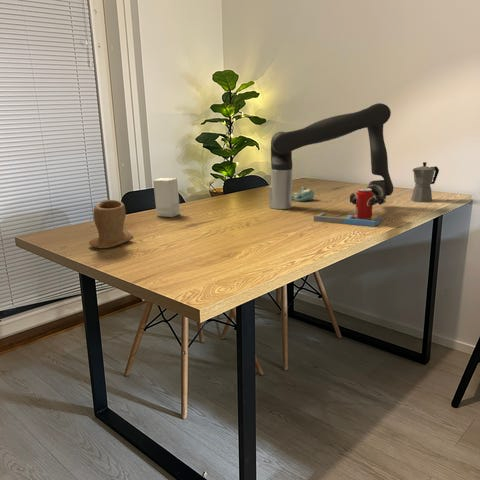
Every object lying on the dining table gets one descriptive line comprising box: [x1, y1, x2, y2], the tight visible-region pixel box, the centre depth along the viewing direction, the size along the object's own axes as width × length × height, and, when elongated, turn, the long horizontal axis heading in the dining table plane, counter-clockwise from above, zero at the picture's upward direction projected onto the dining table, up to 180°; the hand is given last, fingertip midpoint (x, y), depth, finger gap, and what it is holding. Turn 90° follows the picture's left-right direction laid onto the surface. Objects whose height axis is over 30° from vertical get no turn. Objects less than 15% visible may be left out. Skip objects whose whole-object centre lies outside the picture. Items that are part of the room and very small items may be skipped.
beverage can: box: [354, 187, 373, 221], centre depth 181 cm, size 6×6×12 cm
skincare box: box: [152, 177, 181, 218], centre depth 197 cm, size 8×7×16 cm
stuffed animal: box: [292, 186, 315, 203], centre depth 227 cm, size 11×7×12 cm
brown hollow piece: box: [88, 199, 134, 249], centre depth 156 cm, size 15×12×15 cm
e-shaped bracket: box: [313, 211, 382, 228], centre depth 185 cm, size 24×11×2 cm, turn 62°
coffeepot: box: [410, 161, 440, 203], centre depth 220 cm, size 15×9×18 cm, turn 113°
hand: (362, 202), depth 179 cm, fingers closed on beverage can, 6 cm apart
